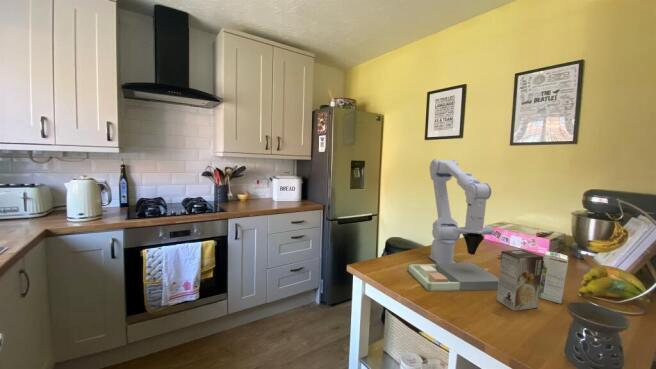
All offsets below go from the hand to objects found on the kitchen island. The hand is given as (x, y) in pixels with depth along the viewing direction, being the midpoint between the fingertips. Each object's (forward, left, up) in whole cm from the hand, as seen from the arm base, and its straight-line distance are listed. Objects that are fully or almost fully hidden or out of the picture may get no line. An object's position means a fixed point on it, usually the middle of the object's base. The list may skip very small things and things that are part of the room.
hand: (471, 253), depth 99 cm
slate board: (0, -1, -10) cm, 10 cm away
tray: (0, -14, -10) cm, 17 cm away
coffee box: (+17, +4, -10) cm, 20 cm away
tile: (-3, -14, -7) cm, 16 cm away
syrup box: (+14, +19, -10) cm, 26 cm away
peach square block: (+4, -14, -7) cm, 16 cm away
